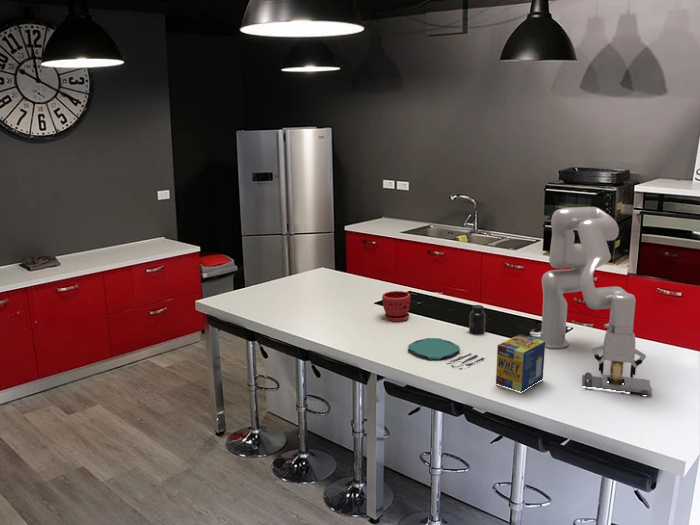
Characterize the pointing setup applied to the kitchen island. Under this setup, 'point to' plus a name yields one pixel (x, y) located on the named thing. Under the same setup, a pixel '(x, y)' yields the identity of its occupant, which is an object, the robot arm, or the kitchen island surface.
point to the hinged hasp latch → (629, 384)
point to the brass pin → (616, 372)
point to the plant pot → (396, 305)
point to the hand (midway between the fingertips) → (616, 374)
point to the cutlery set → (437, 349)
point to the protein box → (520, 362)
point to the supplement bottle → (477, 320)
